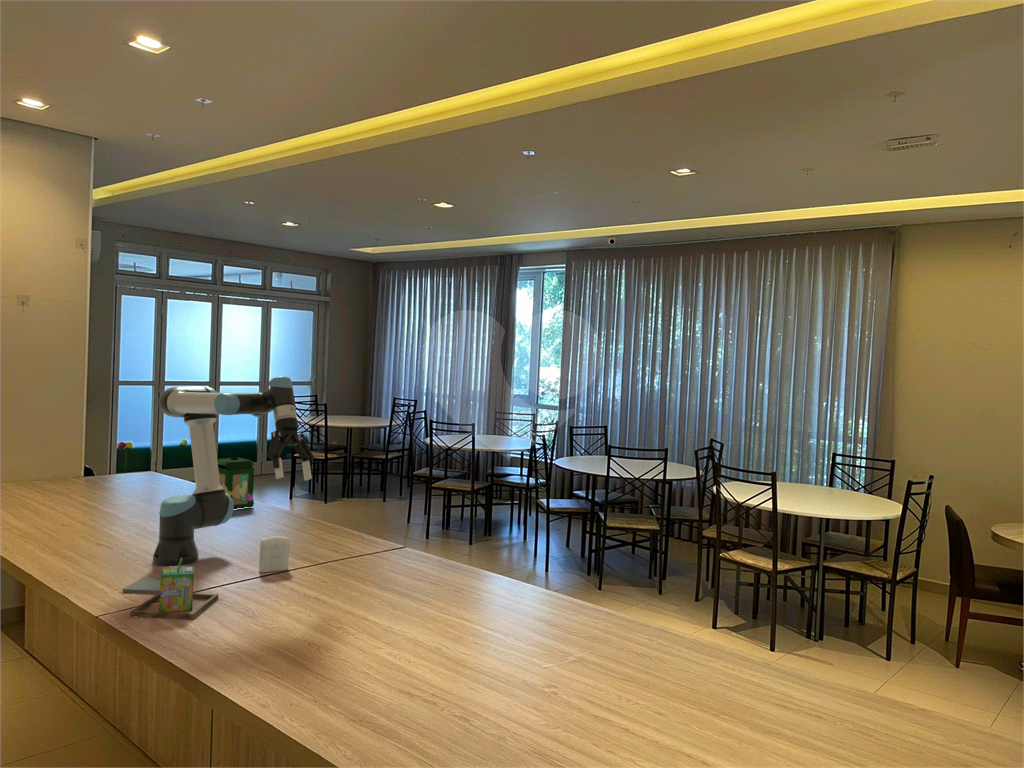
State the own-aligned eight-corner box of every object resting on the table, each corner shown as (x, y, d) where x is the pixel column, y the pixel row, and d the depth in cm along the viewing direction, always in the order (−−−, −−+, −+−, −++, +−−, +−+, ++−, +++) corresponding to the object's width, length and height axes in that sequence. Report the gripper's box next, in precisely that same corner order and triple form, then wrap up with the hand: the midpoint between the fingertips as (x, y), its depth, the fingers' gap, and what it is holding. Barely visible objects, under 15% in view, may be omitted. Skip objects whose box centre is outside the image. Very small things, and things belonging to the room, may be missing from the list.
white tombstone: (286, 567, 258) (288, 533, 258) (289, 570, 254) (291, 536, 254) (257, 570, 252) (259, 536, 252) (260, 573, 249) (262, 539, 248)
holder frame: (130, 616, 203) (130, 611, 203) (160, 596, 221) (160, 591, 221) (192, 619, 203) (192, 614, 203) (218, 598, 221) (218, 594, 221)
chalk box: (159, 603, 214) (161, 555, 214) (193, 601, 218) (194, 553, 218) (157, 614, 206) (159, 564, 206) (192, 611, 210) (194, 562, 209)
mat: (122, 592, 223) (122, 589, 223) (142, 580, 235) (142, 577, 235) (160, 594, 223) (160, 590, 223) (178, 582, 235) (178, 579, 235)
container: (207, 507, 350) (209, 457, 350) (241, 502, 364) (242, 454, 363) (222, 512, 341) (224, 460, 340) (256, 507, 355) (258, 458, 354)
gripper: (267, 412, 233) (275, 474, 227) (318, 420, 256) (327, 477, 250) (250, 418, 236) (258, 480, 230) (302, 426, 258) (311, 483, 252)
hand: (294, 478), depth 240 cm, fingers open, 13 cm apart
